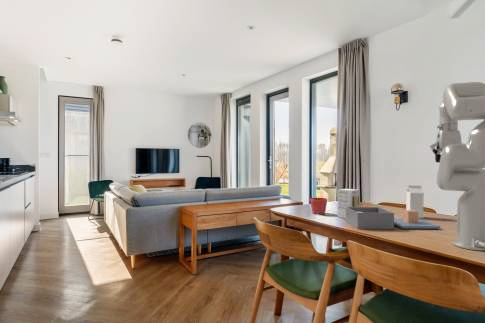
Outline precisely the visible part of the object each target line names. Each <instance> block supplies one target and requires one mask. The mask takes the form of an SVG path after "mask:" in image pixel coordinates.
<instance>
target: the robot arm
mask: <svg viewBox="0 0 485 323" xmlns="http://www.w3.org/2000/svg"><path fill="white" fill-rule="evenodd" d="M438 108H439V109H438V110H439V119H438V120H439V125H437V126H436V127H437V128H436V129H438V131H437V136H436V139H435V140H436V141H435V143H432V144H431V145H430V146H429V148H430V149H431V152H432V153H433V154H434V156H435V157H434V160H435V163H439V164H438V170H437V175H436V184H437V187H438V188H439V189H441V190H443V191H453V192H463V193H462V194H461V195H460V197H459V198H458V199H457V202H456V203H457V206H456V208H457V210H456V215H457V216H456V239H453V240H452V243H451V244H453V245H454V246H455V247H457V248H462V249H467V250H470V251H472V250H473V251H481V252H482V251H484V252H485V83H483V82H480V81H470V82H457V83H455V82H454V83H450V84H449V85H447V86H446V87H445V88H444V91H443V93H442V102H441V103H440V104H439V107H438ZM475 120H483V121H481V122H479V123H478V124H477V125H476V126H475V127H473V129H472V130H471V131H470V132H469V134H468V137H467V138H468V139H467V142H466V143H462V135H461V132H460V130H458V129H459V128H458V127H459V124H458V121H475Z"/></svg>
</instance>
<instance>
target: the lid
mask: <svg viewBox="0 0 485 323" xmlns="http://www.w3.org/2000/svg"><path fill="white" fill-rule="evenodd" d="M394 226H395V227H398V228H400V229H403V230H436V229H441V225H438V224H435V223H433V222H430V221H427V220H425V219H423V218H418V211H415V210H406V209H403V218H400V217H399V218H397V217H396V218H395V217H394Z"/></svg>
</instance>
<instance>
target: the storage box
mask: <svg viewBox="0 0 485 323" xmlns="http://www.w3.org/2000/svg"><path fill="white" fill-rule="evenodd" d="M394 218H395V213H394V212H392V211H390V210H387V209H384V208H381V207H377V206H375V207H374V206H372V207H371V206H369V207H368V206H363V207H361V206H359V207H346V219H345V221H346V223H348V224H349V225H351V226H353V227H354V228H356V229H357V230H395V225H394Z"/></svg>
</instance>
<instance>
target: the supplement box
mask: <svg viewBox="0 0 485 323" xmlns="http://www.w3.org/2000/svg"><path fill="white" fill-rule="evenodd" d="M346 207H360V189H357V188H355V189H354V188H341V189H338V190H337V218H339V219H345V220H346Z"/></svg>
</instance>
